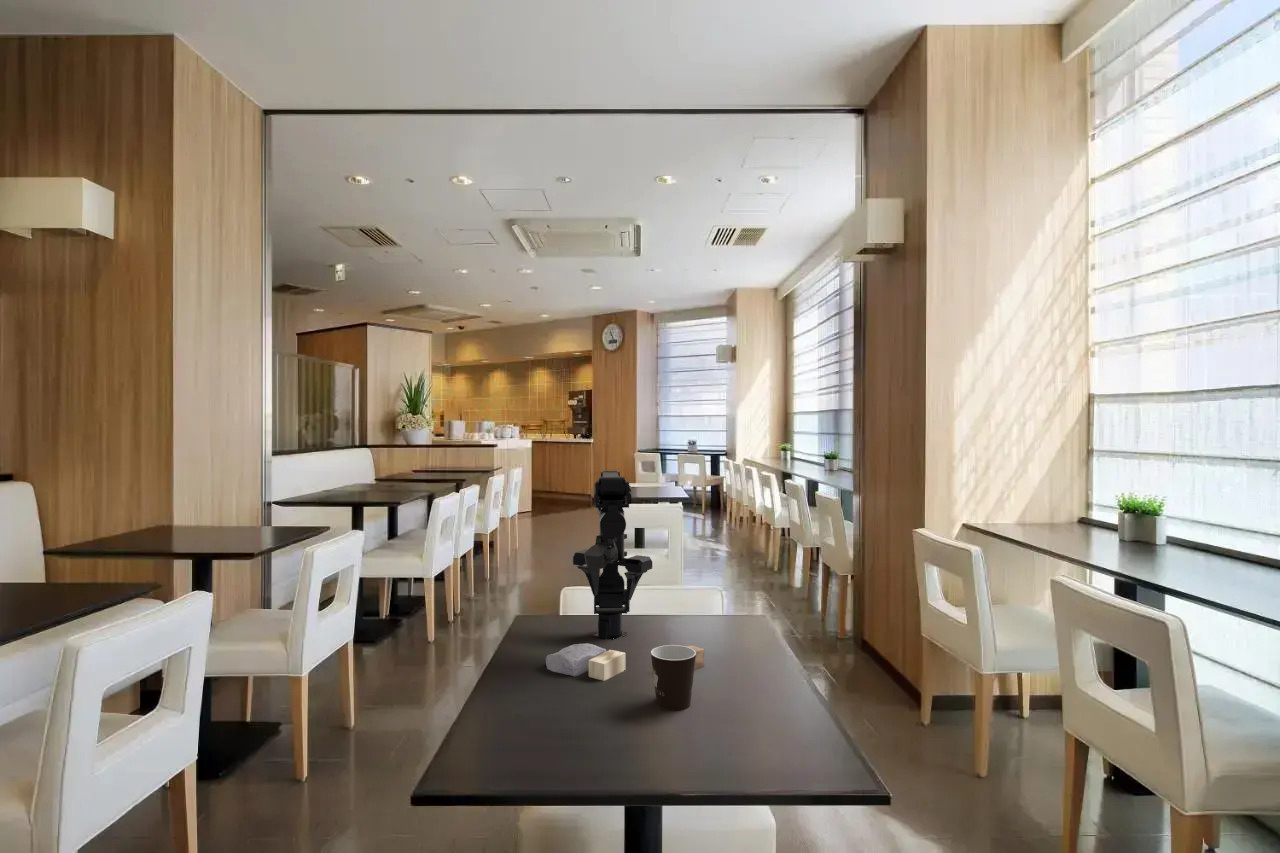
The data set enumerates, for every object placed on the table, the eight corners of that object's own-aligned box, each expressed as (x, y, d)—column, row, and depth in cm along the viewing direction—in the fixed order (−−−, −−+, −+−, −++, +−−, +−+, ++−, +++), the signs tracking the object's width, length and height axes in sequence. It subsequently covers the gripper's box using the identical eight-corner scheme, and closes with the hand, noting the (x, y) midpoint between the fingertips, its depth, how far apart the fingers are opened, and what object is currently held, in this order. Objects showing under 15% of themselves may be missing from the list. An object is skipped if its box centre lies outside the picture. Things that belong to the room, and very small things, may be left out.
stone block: (541, 677, 149) (577, 678, 143) (539, 654, 149) (574, 654, 144) (576, 663, 159) (611, 663, 153) (574, 642, 159) (608, 641, 154)
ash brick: (610, 649, 151) (625, 652, 149) (610, 667, 151) (625, 671, 149) (588, 660, 144) (604, 663, 142) (588, 679, 144) (604, 683, 142)
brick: (690, 662, 154) (690, 645, 154) (704, 667, 152) (704, 649, 152) (666, 671, 149) (666, 653, 149) (679, 676, 146) (679, 657, 146)
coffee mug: (693, 716, 126) (693, 661, 126) (646, 712, 128) (647, 658, 128) (700, 691, 137) (700, 641, 137) (657, 688, 139) (657, 639, 139)
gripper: (558, 532, 157) (558, 600, 157) (628, 539, 148) (628, 611, 148) (586, 525, 167) (586, 590, 167) (653, 532, 157) (653, 600, 158)
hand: (611, 597), depth 160 cm, fingers open, 9 cm apart
